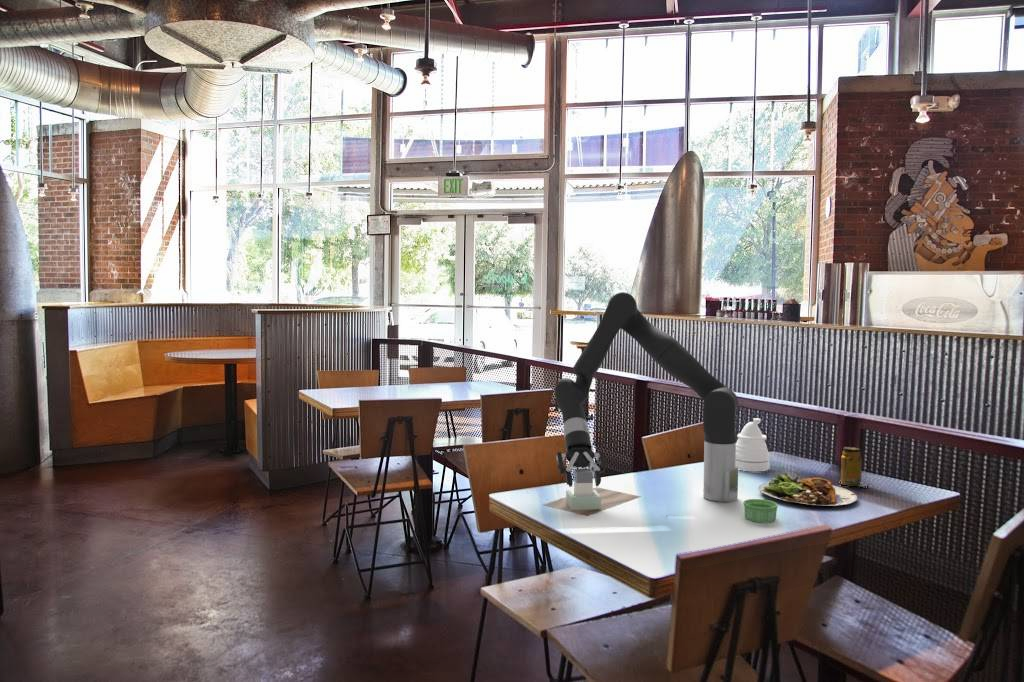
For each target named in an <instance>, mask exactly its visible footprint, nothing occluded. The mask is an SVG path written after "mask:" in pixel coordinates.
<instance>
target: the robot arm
mask: <svg viewBox="0 0 1024 682" xmlns="http://www.w3.org/2000/svg"><path fill="white" fill-rule="evenodd" d="M620 330H622V331H624V332H625V333H626V334H628V335H629V336H630V337H631V338H633V339H634V340H635V342H637V343H638V345H639V346H640V347H641V348H642V349H643V350H644V351H645V352H646V353H647V354H648V355H649V356H650V358H652V360H653V361H654V362H656V363H657V364H658V366H659V367H660V368H662V369H663V370H664V371H665V372H666V373H668V375H670V376H671V377H673V378H674V379H676V380H677V381H679V382H680V383H682V384H684V385H686V386H687V387H689V388H690V389H691V390H693V391H694V393H695V394H697V395H698V396H699V397H700V399H701V400H702V401H703V405H702V406H703V407H702V418H703V419H702V421H703V422H702V429H703V435H704V441H703V443H704V444H703V445H704V446H703V447H704V448H703V449H704V450H703V451H704V453H703V489H702V491H703V498H704V499H706V500H710V501H715V502H726V503H730V502H733V501H735V500H736V499H738V496H739V491H738V490H739V471H738V467H736V443H737V433H736V427H735V426H736V422H735V421H736V412H737V411H738V408H739V399H738V396H737V395H736V393H735V392H734V391H733V390H732V389H731V388H729V387H728V386H726V385H725V384H723V383H722V382H721V381H720V380H718V379H717V378H716V377H715V376H713V375H712V374H711V373H710V372H709V371H708V370H707V369H706V368H705V367H704V366H703V365H702V363H700V362H699V361H698V360H697V359H696V357H695V356H693V355H692V354H691V352H689V351H688V349H686V348H685V346H683V345H682V344H681V342H679V341H678V340H677V339H676V338H674V337H673V336H672V335H670V334H669V333H667V332H666V331H664V330H661V329H660V328H658V327H656V326H655V325H653V323H652V322H650V321H649V319H647V318H646V317H645V316H644V315H643V314H642V313H641V311H640V310H639V309H638V307H637V302H636V299H635V297H634V296H633V295H632V294H630V293H628V292H625V291H622V292H621V291H620V292H618V293H615V294H613V295H612V297H610V299H609V300H608V303H607V306H606V308H605V311H604V313H603V315H602V318H601V320H600V321H599V324H598V326H597V327H596V329H595V331H594V332H593V334H592V336H591V338H590V339H589V342H588V343H587V344H586V346H585V348H584V349H583V351H582V352H581V354H580V355H579V357H578V359H577V360H576V362H575V364H574V365H573V369H572V371H573V373H574V374H575V377H576V378H575V381H574V380H573V379H571V378H569V377H564V378H561V379H559V380H558V381H557V382H556V384H555V387H554V396H555V399H556V402H557V406H558V408H559V410H560V412H561V415H562V422H563V438H564V443H565V445H564V446H565V451H566V453H562V452H560V451H558V452H557V453H556V465H557V471H558V474H559V475H564V476H565V482H566V485H567V486H568V487H569V488H570V487H573V485H574V481H573V475H572V471H573V470H574V469H580V468H582V469H590V470H591V471H592V472H593V479H594V483H595V487H599V486H600V484H601V481H602V476H601V474H605V470H606V469H607V468H606V466H607V465H606V460H605V459H606V458H605V453H604V451H602V450H601V451H600V452H594V451H593V447H592V446H593V445H592V442H591V441H592V440H591V435H590V429H589V426H588V425H589V424H588V423H587V422H588V421H587V416H586V412H585V409H584V406H582V405H583V404H584V402H585V401H587V398H588V396H589V392H590V389H591V386H592V383H593V379H594V377H595V376H596V374H597V372H598V371H599V369H600V368H601V366H602V364H603V362H604V360H605V358H606V356H607V355H608V352H609V350H610V347H611V345H612V343H613V341H614V340H615V338H616V336H617V334H618V332H620ZM565 459H566V460H567V461H568V462H569V463H568V465H567V467H564V461H565ZM594 459H596V461H597V462H598V465H599V466H598V465H597V463H596V461H595V460H594Z"/></svg>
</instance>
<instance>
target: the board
mask: <svg viewBox="0 0 1024 682" xmlns="http://www.w3.org/2000/svg"><path fill="white" fill-rule="evenodd" d="M593 490H596V491H597V492H598V494H599V495H600V496H601V509H591V510H571V509H570V507H569V506H568V504H567V503H566V496H565V497H562V498H559V499H555V500H553V501H550V502H547V503H544V504H542V506H545V507H548V508H552V509H555V510H556V509H557V510H562V511H564V512H565V511H566V512H569V513H574V514H578V515H583V516H586V517H589V516H591V515H594V514H597V513H601V512H603V511H606V510H607V509H611V508H614V507H616V506H617V507H618V506H620V505H622V504H624V503H627V502H630V501H632V500H636V499H637V498H638V499H639V498H641V497H642V496H640V495H635V494H631V493H627V492H626V493H625V492H622V491H617V490H611V489H608V488H607V489H606V488H601V487H599V486H595V487H594V488H593ZM573 496H574V494H573Z"/></svg>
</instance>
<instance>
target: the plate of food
mask: <svg viewBox="0 0 1024 682" xmlns="http://www.w3.org/2000/svg"><path fill="white" fill-rule="evenodd" d="M758 490H759V491H760V492H761V493H763V494H765V495H766V496H769V497H771V498H775V499H779V500H782V501H784V502H788V503H789V502H790V503H797V504H802V505H803V504H805V505H811V506H823V507H824V506H829V507H830V506H833V507H835V506H843V505H849V504H852V503H854V502H856V501H857V500H858V495H857V494H856V493H854V491H851V490H848V489H847V488H844V487H842V486H839V485H838V486H837V485H833V484H832V483H831V481H830V480H828V479H825V478H821V477H811V478H810V477H809V478H803V479H800V480H799V477H798V476H796V477H794V478H791V476H789V475H788V474H787V473H786V472H785V473H784V474H778V475H777V476H775V477H772V479H771V481H768V482H767V481H766V482H763V483H762V484H759V486H758ZM778 497H779V498H778ZM780 497H782V498H780ZM837 498H839V499H840V500H841V502H838V500H837Z"/></svg>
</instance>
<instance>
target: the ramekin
mask: <svg viewBox="0 0 1024 682" xmlns="http://www.w3.org/2000/svg"><path fill="white" fill-rule="evenodd" d="M743 506H744V507H743V508H744V509H743V510H744V517H745V519H746V520H748V521H751V522H753V523H754V522H755V523H762V524H763V523H764V524H767V523H773V522H775V521H776V519H777V518H776V517H777V511H778V506H779V504H778V502H775V501H773V500H768V499H763V498H749V499H745V500H744V501H743Z"/></svg>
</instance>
